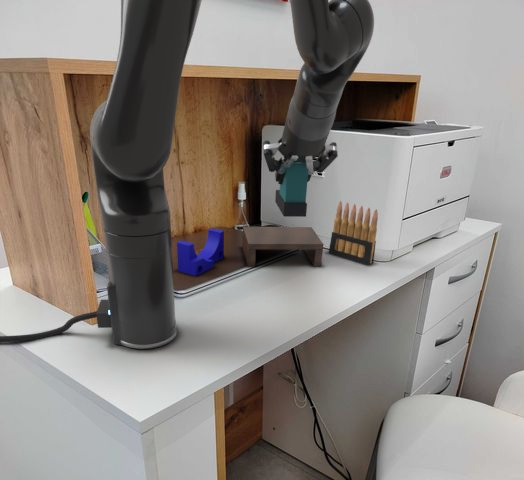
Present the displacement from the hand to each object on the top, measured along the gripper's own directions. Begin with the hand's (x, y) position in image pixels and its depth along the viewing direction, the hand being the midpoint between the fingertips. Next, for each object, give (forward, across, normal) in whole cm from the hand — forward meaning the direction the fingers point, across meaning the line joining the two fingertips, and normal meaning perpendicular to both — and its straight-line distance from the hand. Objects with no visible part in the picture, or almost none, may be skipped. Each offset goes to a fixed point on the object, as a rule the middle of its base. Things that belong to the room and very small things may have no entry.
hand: (291, 180), depth 97 cm
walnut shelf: (+17, 0, +9) cm, 19 cm away
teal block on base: (+4, 0, +4) cm, 6 cm away
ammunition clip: (+16, -16, +10) cm, 25 cm away
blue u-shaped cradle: (+13, +17, +12) cm, 25 cm away
